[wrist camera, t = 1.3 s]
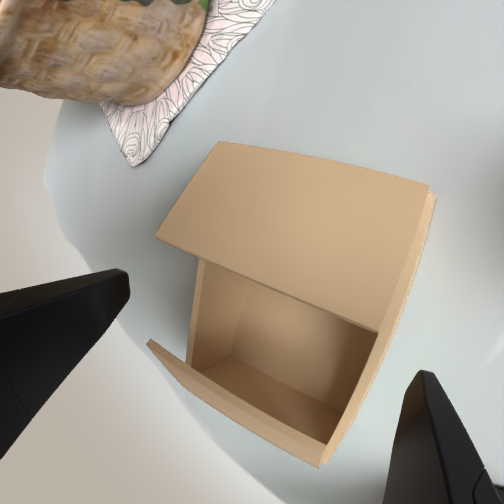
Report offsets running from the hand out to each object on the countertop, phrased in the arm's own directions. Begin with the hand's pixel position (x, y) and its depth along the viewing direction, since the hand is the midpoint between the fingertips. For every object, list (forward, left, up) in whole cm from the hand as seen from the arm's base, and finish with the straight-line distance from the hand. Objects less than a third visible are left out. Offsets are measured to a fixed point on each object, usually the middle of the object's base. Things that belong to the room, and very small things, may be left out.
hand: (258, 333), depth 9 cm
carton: (-4, +4, -15) cm, 16 cm away
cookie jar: (+18, +28, -15) cm, 37 cm away
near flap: (+2, +4, -7) cm, 8 cm away
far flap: (-10, +4, -7) cm, 13 cm away
